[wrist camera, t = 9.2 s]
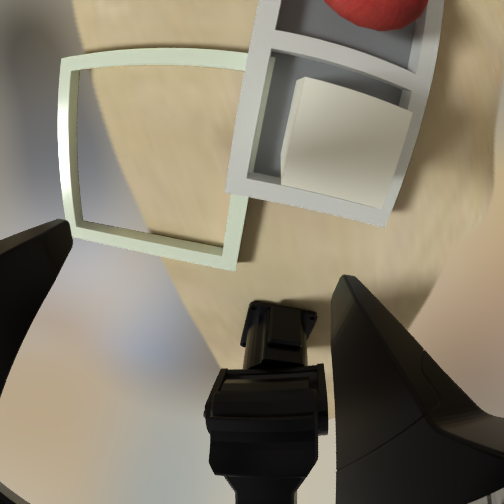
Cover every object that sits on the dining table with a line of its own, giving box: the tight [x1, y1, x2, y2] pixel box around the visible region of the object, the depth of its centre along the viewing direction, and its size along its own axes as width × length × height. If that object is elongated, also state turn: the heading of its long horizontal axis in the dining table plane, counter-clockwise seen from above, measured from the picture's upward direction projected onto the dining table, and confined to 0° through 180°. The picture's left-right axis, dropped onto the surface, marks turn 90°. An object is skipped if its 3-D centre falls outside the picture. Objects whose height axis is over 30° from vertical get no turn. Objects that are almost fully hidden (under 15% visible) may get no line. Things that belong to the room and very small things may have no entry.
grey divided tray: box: [225, 0, 444, 228], centre depth 13 cm, size 20×11×2 cm, turn 170°
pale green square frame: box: [58, 48, 275, 271], centre depth 19 cm, size 16×16×1 cm
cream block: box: [281, 77, 413, 209], centre depth 14 cm, size 5×5×6 cm
